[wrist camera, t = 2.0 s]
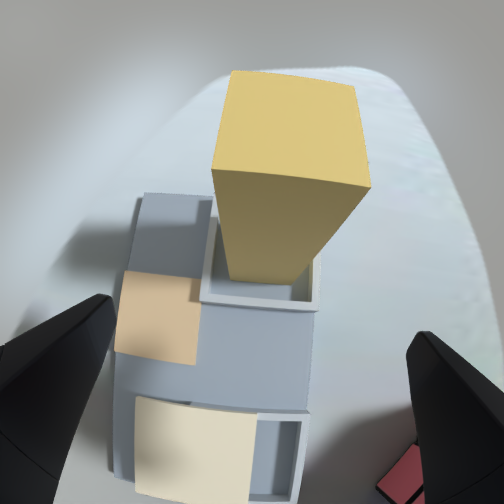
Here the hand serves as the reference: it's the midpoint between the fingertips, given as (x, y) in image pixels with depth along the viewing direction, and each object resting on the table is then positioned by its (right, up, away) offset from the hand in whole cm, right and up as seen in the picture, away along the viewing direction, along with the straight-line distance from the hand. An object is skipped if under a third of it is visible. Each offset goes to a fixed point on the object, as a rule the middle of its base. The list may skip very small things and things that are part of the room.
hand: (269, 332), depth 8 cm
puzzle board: (-3, -5, +11) cm, 12 cm away
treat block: (0, +2, +12) cm, 12 cm away
